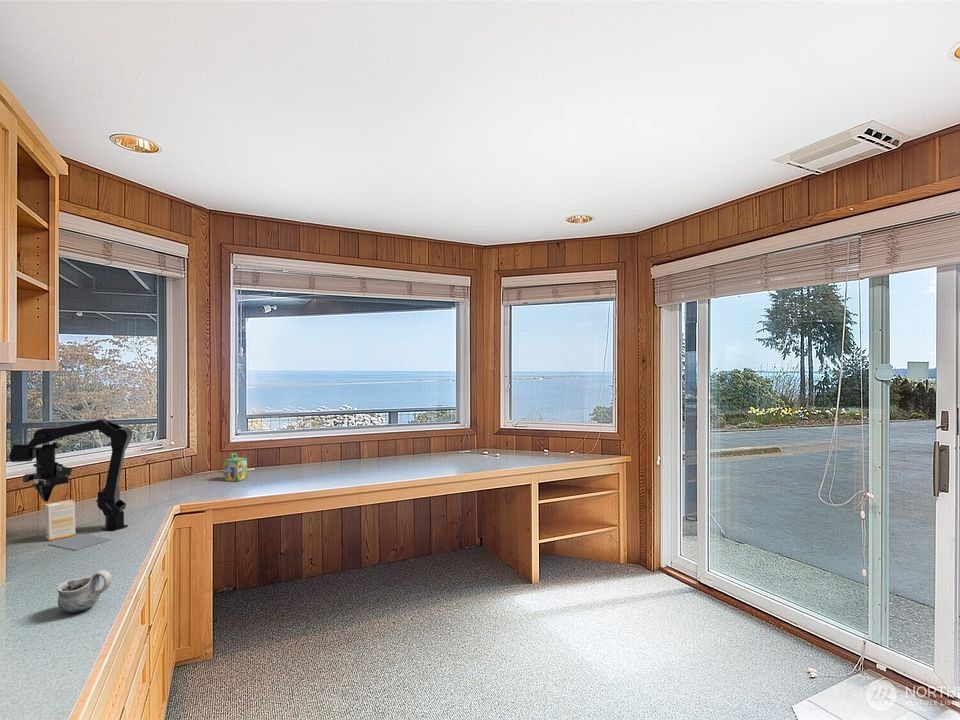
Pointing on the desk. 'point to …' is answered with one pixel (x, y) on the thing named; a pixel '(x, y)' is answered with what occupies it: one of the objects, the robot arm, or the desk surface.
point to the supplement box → (60, 519)
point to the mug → (82, 592)
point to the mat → (79, 542)
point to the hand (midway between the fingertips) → (46, 501)
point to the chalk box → (234, 468)
